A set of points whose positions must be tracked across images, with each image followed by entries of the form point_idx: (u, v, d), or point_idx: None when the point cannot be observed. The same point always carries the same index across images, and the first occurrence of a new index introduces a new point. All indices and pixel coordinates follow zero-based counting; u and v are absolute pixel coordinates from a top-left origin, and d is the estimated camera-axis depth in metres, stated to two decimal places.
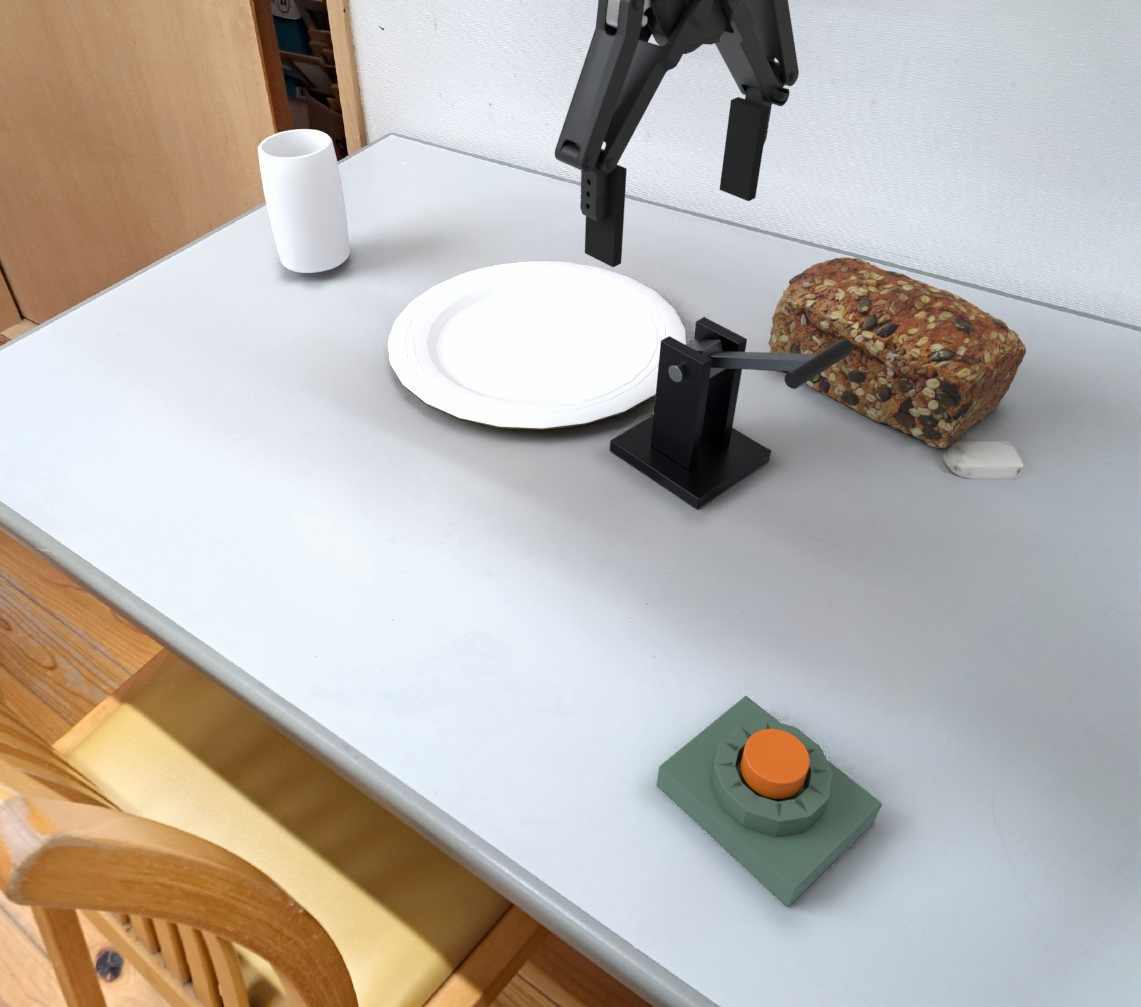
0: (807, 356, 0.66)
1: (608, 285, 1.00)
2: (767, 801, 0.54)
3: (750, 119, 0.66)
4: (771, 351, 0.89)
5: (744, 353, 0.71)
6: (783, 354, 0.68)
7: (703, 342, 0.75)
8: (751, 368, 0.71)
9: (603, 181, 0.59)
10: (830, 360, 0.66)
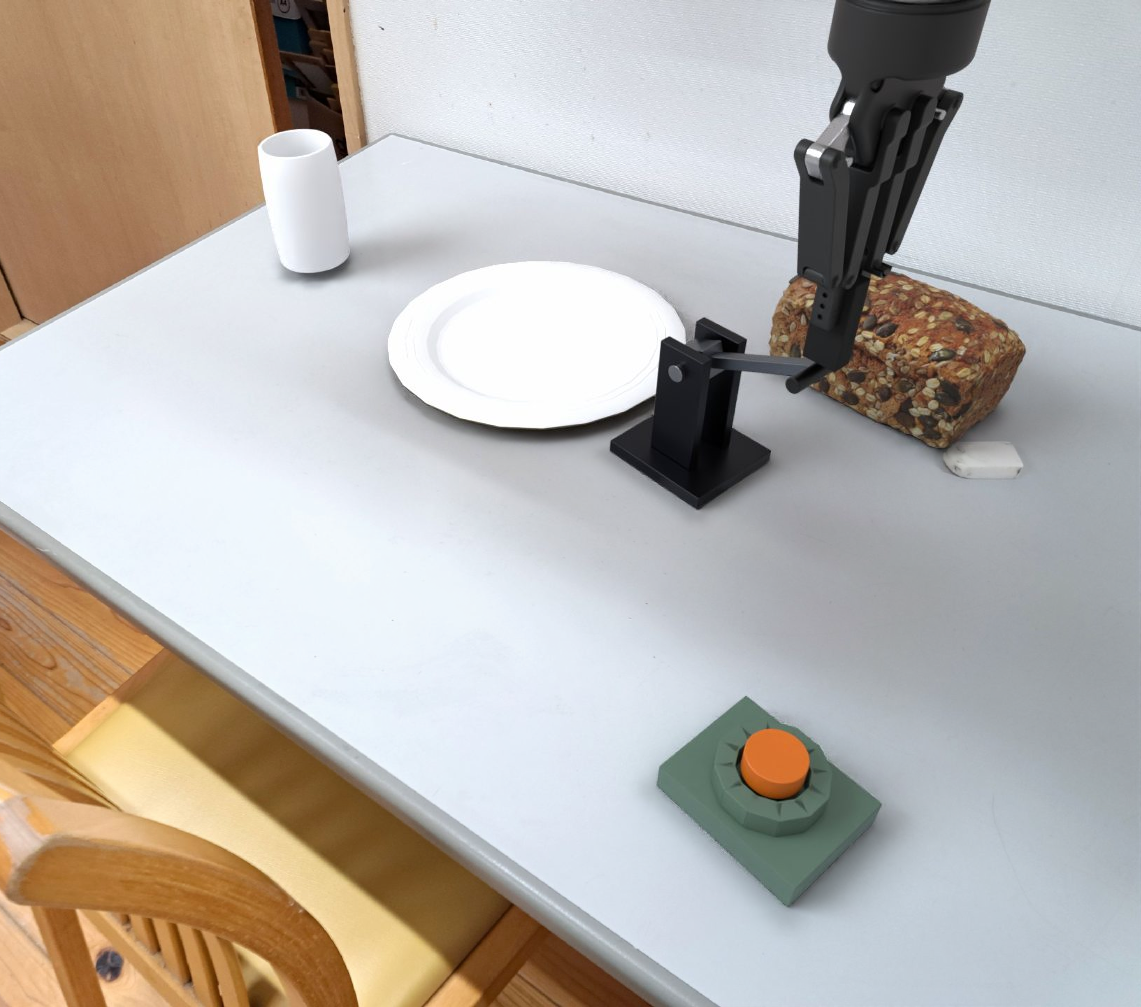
0: (809, 361, 0.67)
1: (608, 285, 1.00)
2: (767, 801, 0.54)
3: None
4: (771, 351, 0.89)
5: (745, 355, 0.71)
6: (784, 358, 0.69)
7: (703, 342, 0.75)
8: (751, 370, 0.71)
9: (840, 295, 0.60)
10: None
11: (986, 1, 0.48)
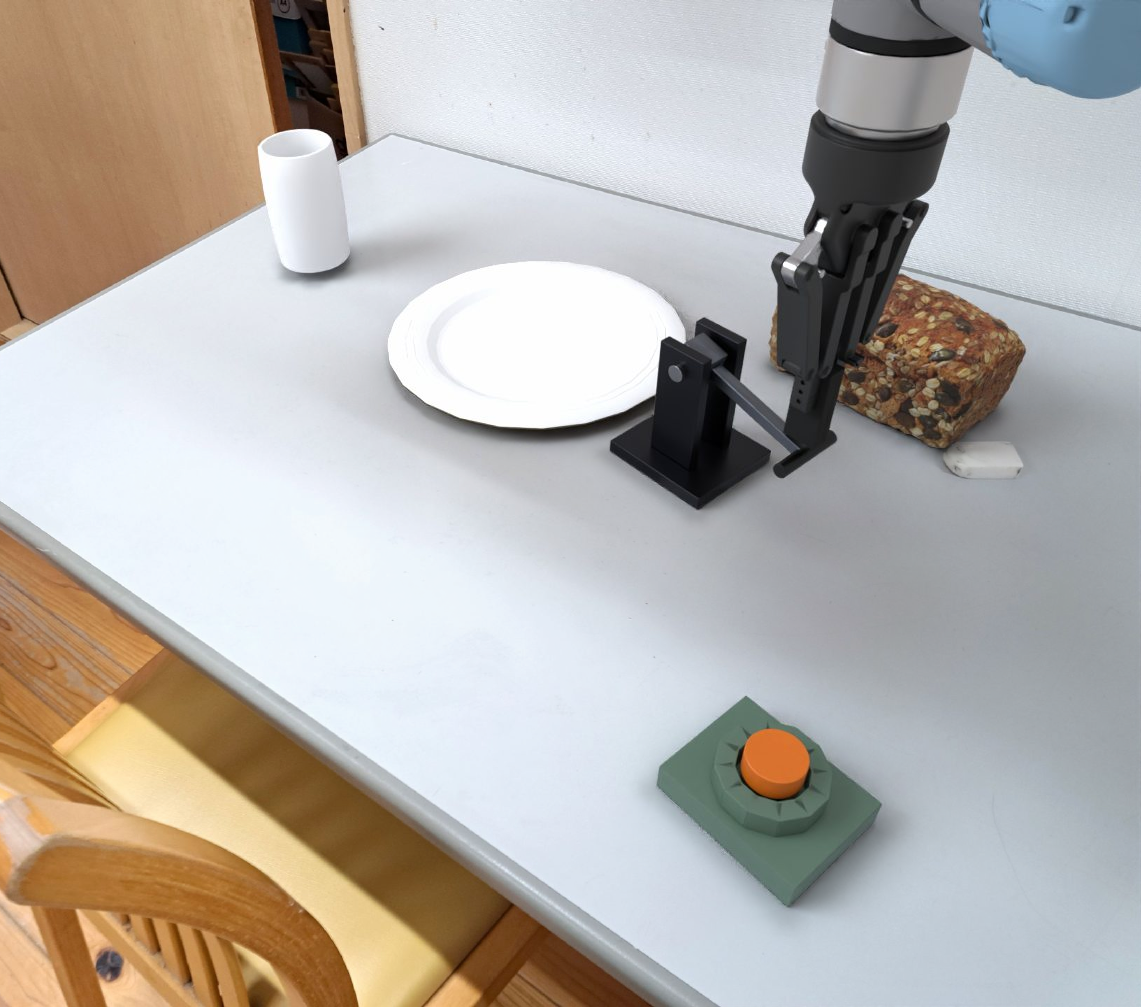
0: (799, 442, 0.71)
1: (608, 285, 1.00)
2: (767, 801, 0.54)
3: None
4: (771, 351, 0.89)
5: (744, 389, 0.73)
6: (779, 420, 0.72)
7: (711, 347, 0.74)
8: (744, 409, 0.73)
9: (816, 383, 0.65)
10: (815, 455, 0.71)
11: (944, 136, 0.53)
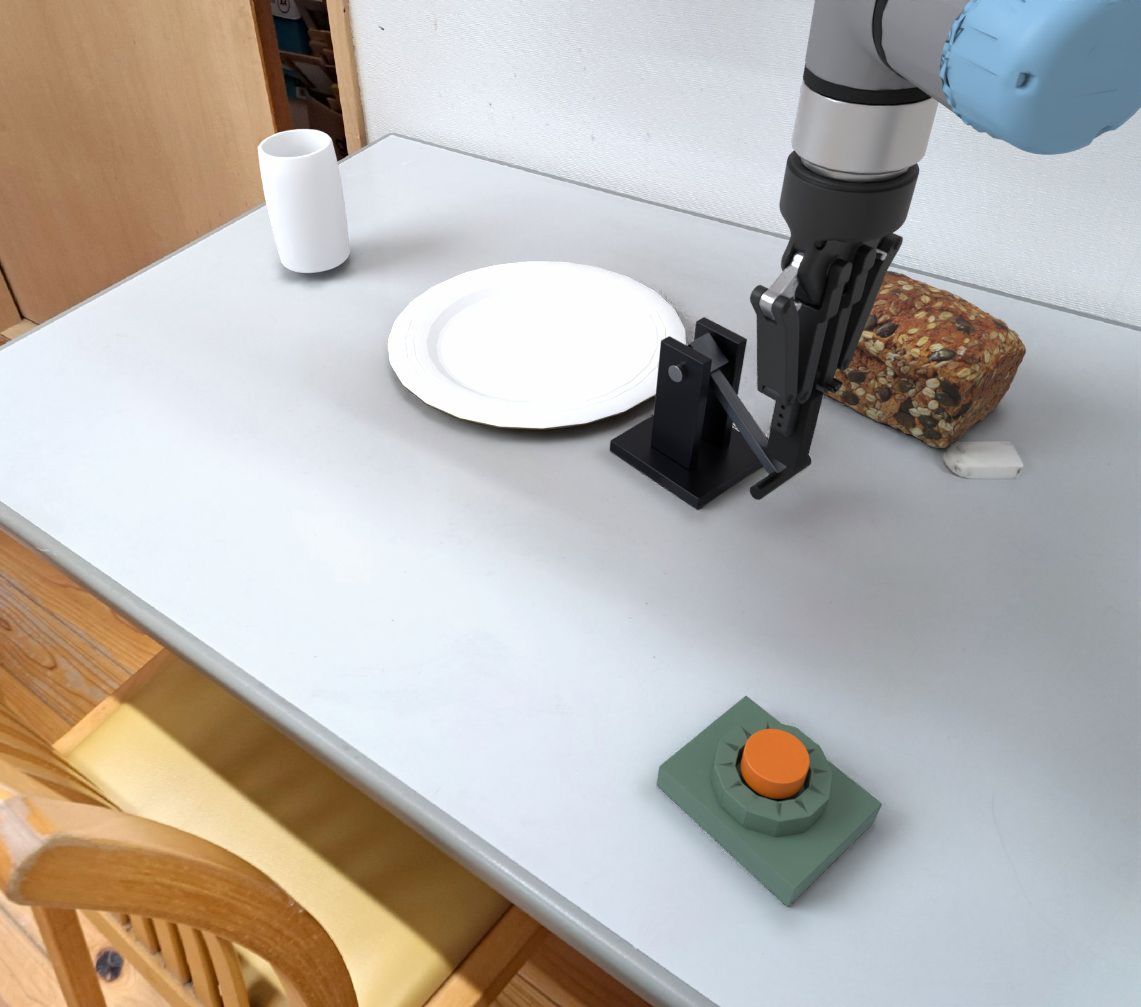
0: (778, 465, 0.74)
1: (608, 285, 1.00)
2: (767, 801, 0.54)
3: None
4: None
5: (737, 401, 0.74)
6: (763, 439, 0.74)
7: (714, 352, 0.74)
8: (732, 420, 0.75)
9: (796, 407, 0.68)
10: None
11: (913, 177, 0.55)
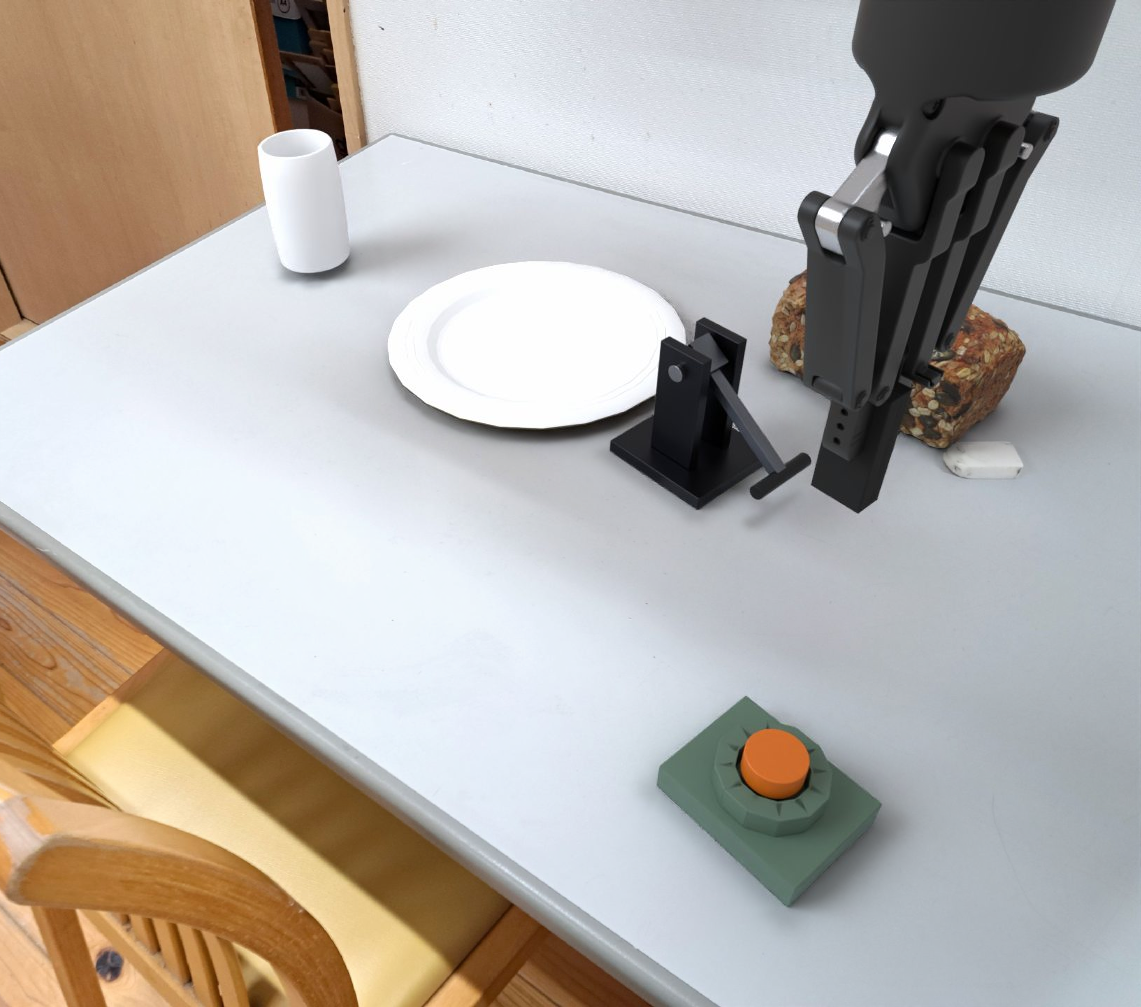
0: (778, 465, 0.74)
1: (608, 285, 1.00)
2: (767, 801, 0.54)
3: None
4: (771, 351, 0.89)
5: (737, 401, 0.74)
6: (763, 439, 0.74)
7: (714, 352, 0.74)
8: (732, 420, 0.75)
9: (866, 413, 0.41)
10: None
11: None
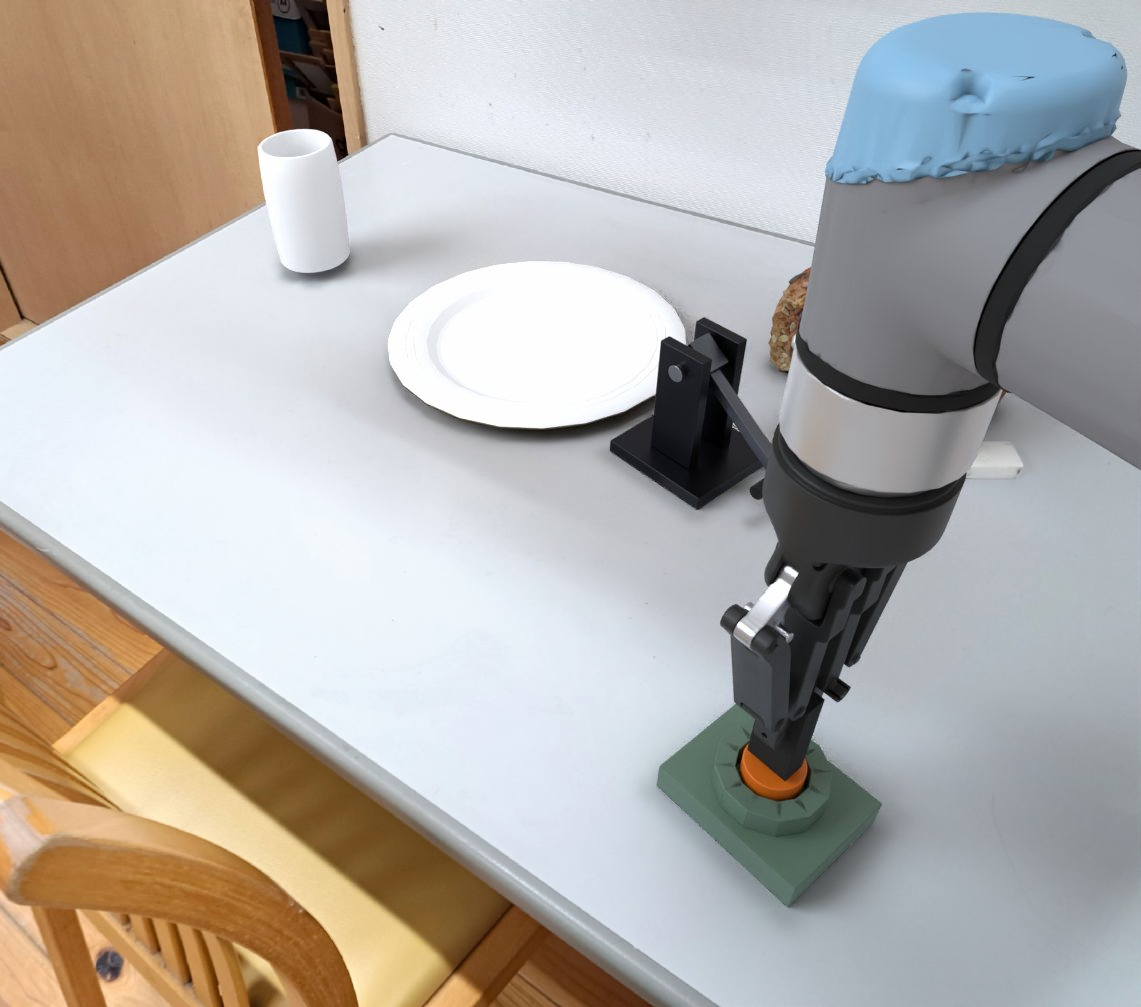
0: None
1: (608, 285, 1.00)
2: (767, 801, 0.54)
3: None
4: (771, 351, 0.89)
5: (737, 401, 0.74)
6: (763, 439, 0.74)
7: (714, 352, 0.74)
8: (732, 420, 0.75)
9: (787, 720, 0.50)
10: None
11: (959, 484, 0.37)
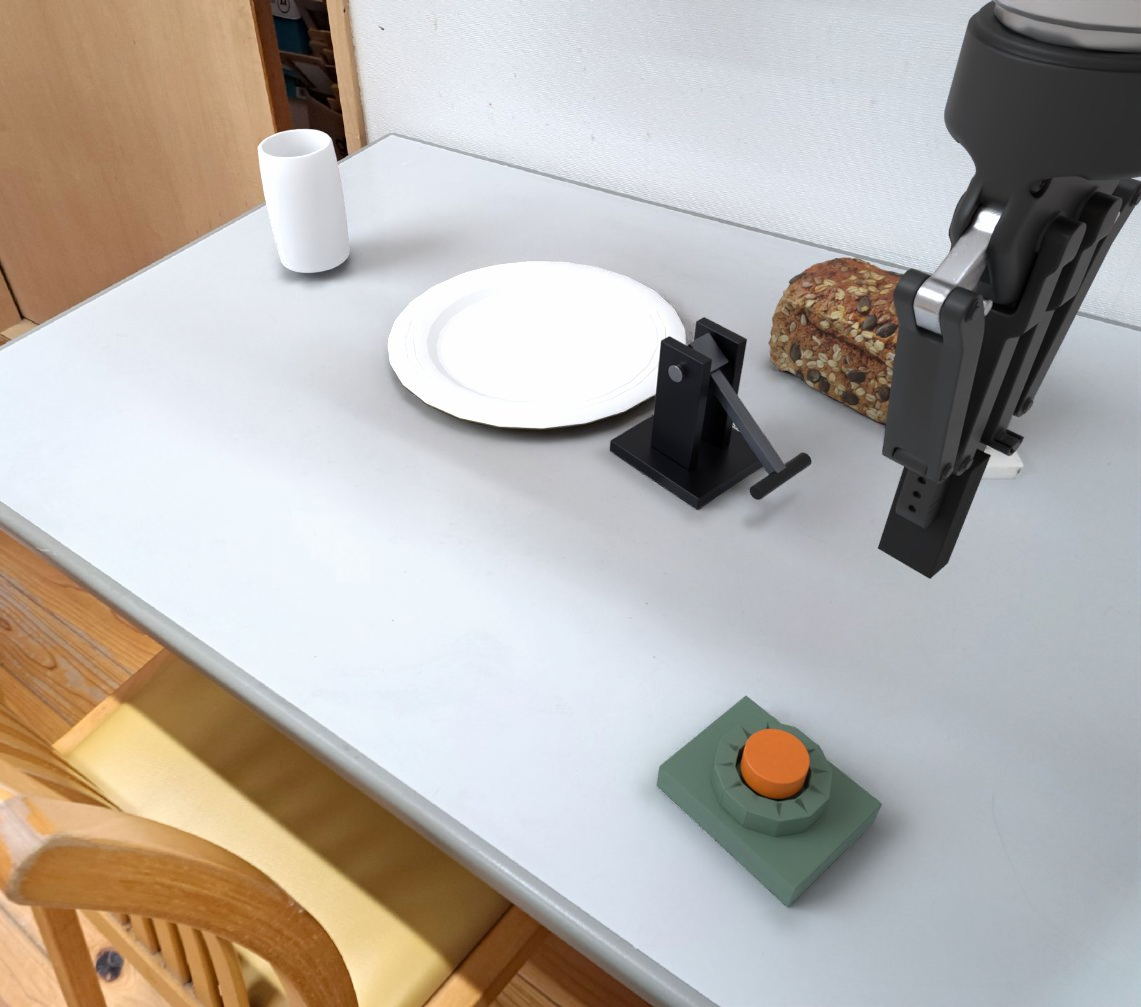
0: (778, 465, 0.74)
1: (608, 285, 1.00)
2: (767, 801, 0.54)
3: None
4: (771, 351, 0.89)
5: (737, 401, 0.74)
6: (763, 439, 0.74)
7: (714, 352, 0.74)
8: (732, 420, 0.75)
9: (945, 481, 0.40)
10: None
11: None
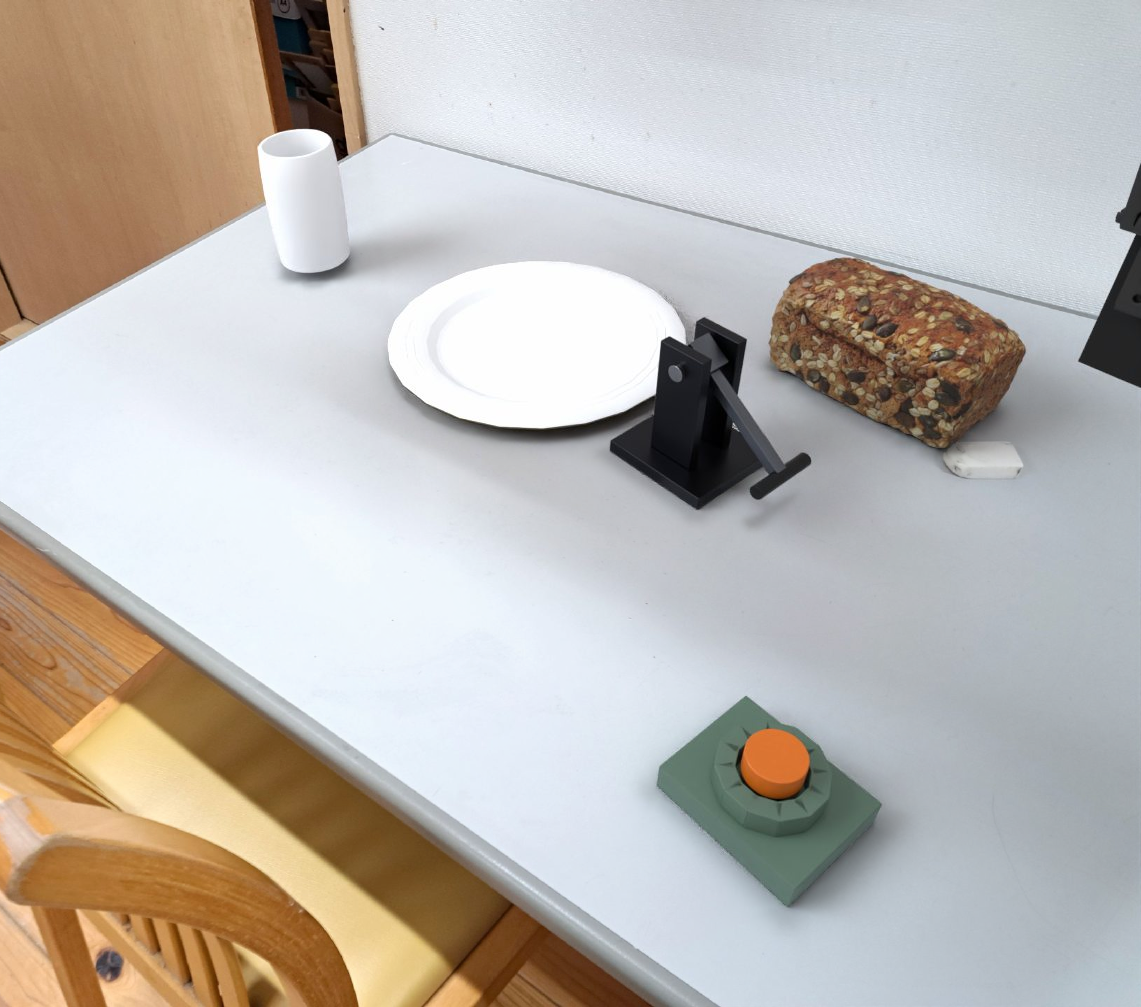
0: (778, 465, 0.74)
1: (608, 285, 1.00)
2: (767, 801, 0.54)
3: None
4: (771, 351, 0.89)
5: (737, 401, 0.74)
6: (763, 439, 0.74)
7: (714, 352, 0.74)
8: (732, 420, 0.75)
9: None
10: None
11: None
